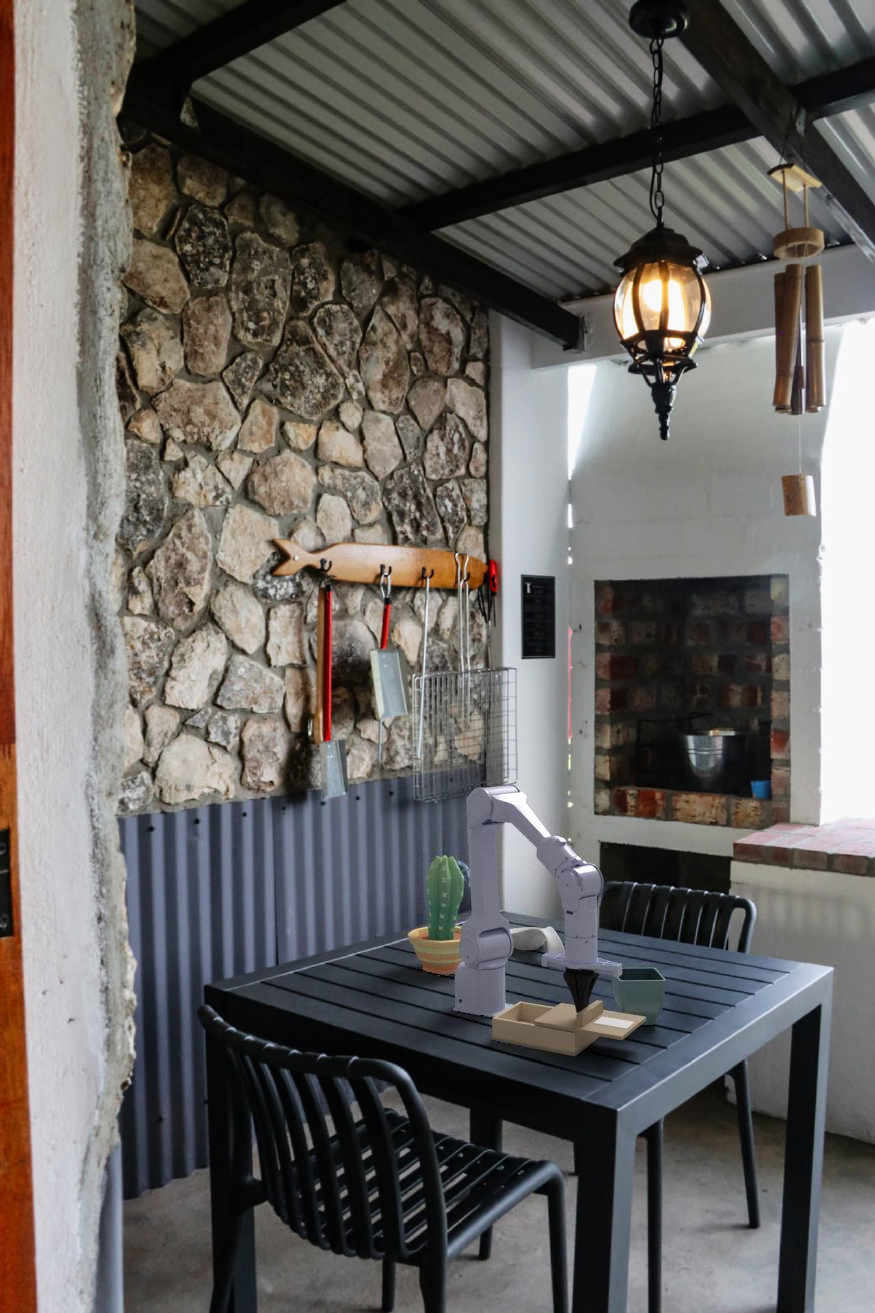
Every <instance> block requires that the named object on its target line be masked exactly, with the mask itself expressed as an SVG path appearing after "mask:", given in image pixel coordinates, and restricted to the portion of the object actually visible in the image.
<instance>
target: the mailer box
mask: <svg viewBox="0 0 875 1313" xmlns="http://www.w3.org/2000/svg"><path fill="white" fill-rule="evenodd" d="M554 1007H555V1006H550V1005H544V1004H543V1005H542V1004H538V1003H532V1002H527V1001H526V1002H525V1001H518V1002H517V1003H514V1004H513V1006H512V1007H510V1008H508V1009H507V1010H505V1011H503V1012H502V1013H500V1014H498V1015H497V1016H495V1017H493V1018H491V1019H492V1020H491V1021H492V1022H491V1024H492V1025H491V1026H492V1027H491V1028H492V1030H491V1032H492V1034H491V1036H492V1037H491V1038H492V1040H493V1039H496V1040H500V1041H505V1042H507V1043H506V1044H508V1043H513V1044H515V1045H514V1046H518V1045H521V1046H520V1047H524V1048H530V1049H533V1050H534V1049H536V1050H540V1051H544V1052H545V1051H546V1052H550V1053H555V1054H556V1053H557V1054H560V1055H561V1054H562V1055H566V1056H571V1057H576V1056H578V1054H579V1053H581V1052H583V1051H584V1050H585V1049H586V1048H588V1047H589V1046H590V1045H591V1044H594V1042H595V1041H597V1040H598V1039H599V1038H601V1036H595V1035H590V1034H584V1033H579V1032H573V1031H567V1030H562V1029H556V1028H551V1027H545V1026H539V1025H534V1024H533V1021H534V1020H536V1019H537V1018H539V1017H540V1016H542V1015H543V1014H545V1013H546V1012H548V1011H549V1010H551V1009H553V1008H554ZM513 1044H512V1045H513Z"/></svg>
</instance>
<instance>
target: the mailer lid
mask: <svg viewBox="0 0 875 1313" xmlns="http://www.w3.org/2000/svg"><path fill="white" fill-rule="evenodd" d="M553 1007H554V1008H553V1009H551V1010H549V1011H548V1012H546V1013H545V1014H543V1015H542V1016H540V1017H539V1018H537V1019H536V1020H534V1021H533V1024H534V1025H539V1026H545V1027H551V1028H556V1029H562V1030H567V1031H573V1032H579V1033H584V1034H590V1035H595V1036H600V1038H601V1037H602V1038H607V1039H612V1040H613V1039H614V1040H619V1041H623V1040H624V1039H625V1038H627V1037H628V1036H629V1035H630V1034H631V1033H633V1032H634V1031H636V1029H638V1028H639V1027H640V1026H642V1025H641V1024H643V1023H644V1022H645V1021H646V1017H644V1016H638V1015H632V1014H626V1013H620V1012H618V1011H613V1010H606V1009H604V1001H603V1000H599V999H596V1000H595V1001H594V1002H592V1003H589V1004H588V1006H587V1007H586V1008H585V1009H583V1010H582V1011H580V1012H579V1013H576V1008H575V1004H570V1003H563V1002H560V1003H559V1004H557V1005H555V1006H553Z"/></svg>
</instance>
